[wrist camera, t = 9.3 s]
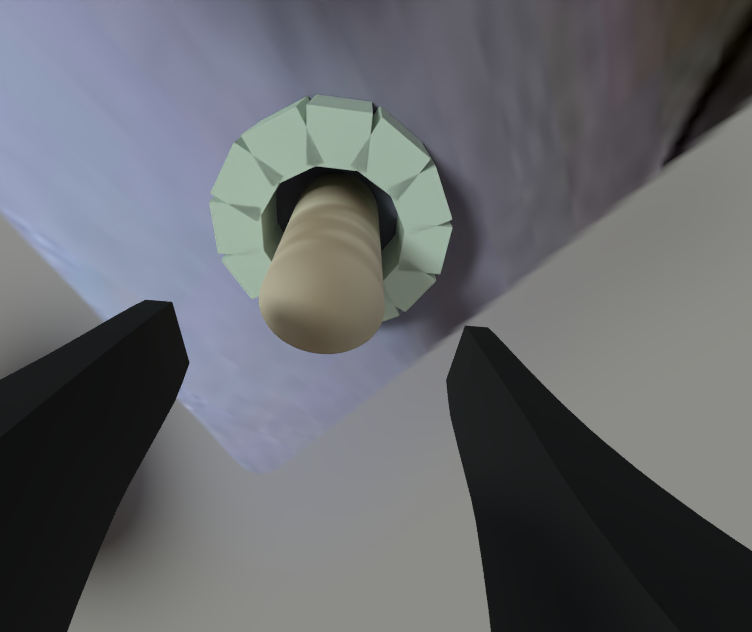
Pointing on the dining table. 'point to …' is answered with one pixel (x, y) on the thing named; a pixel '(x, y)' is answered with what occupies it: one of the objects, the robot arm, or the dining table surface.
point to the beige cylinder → (327, 269)
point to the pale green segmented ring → (341, 151)
